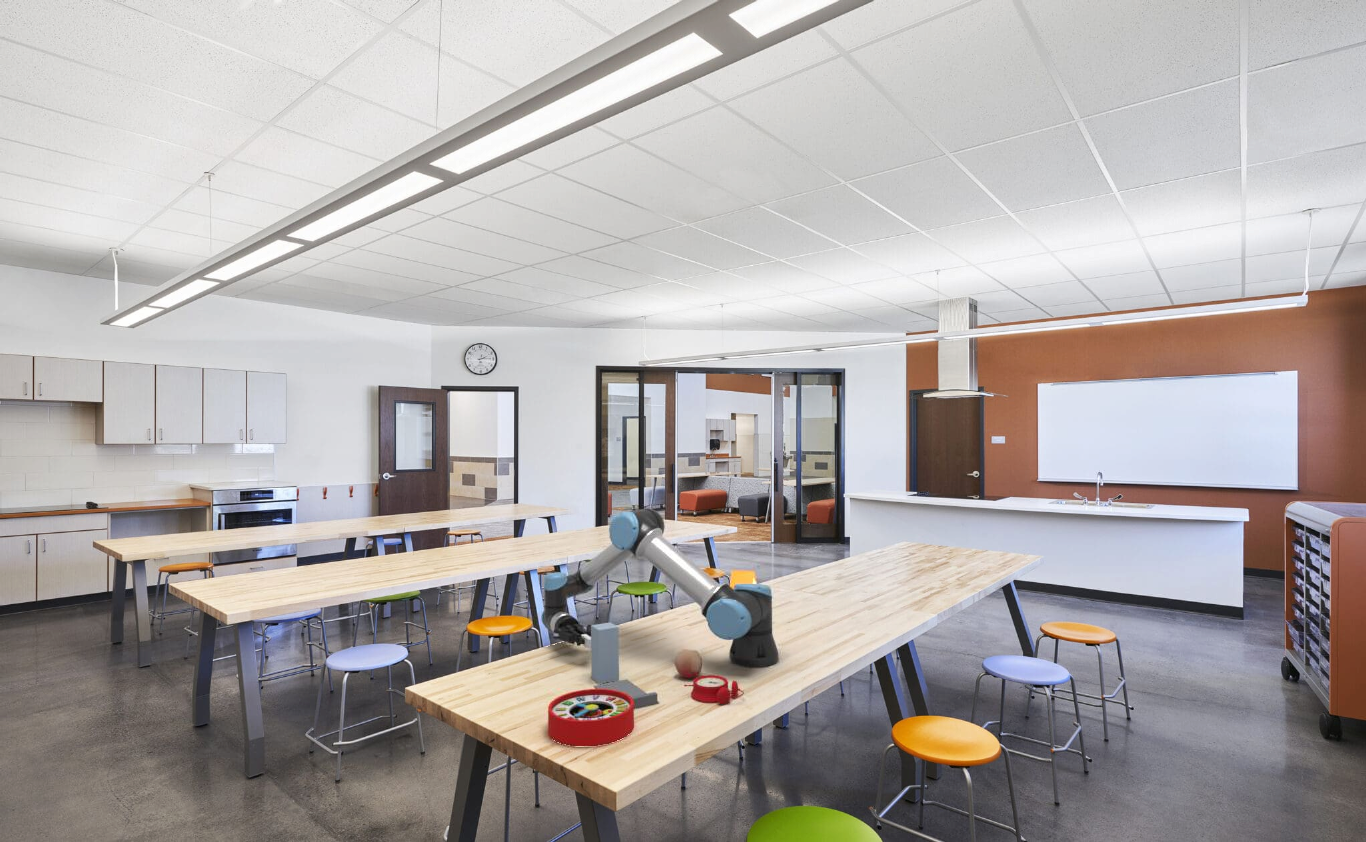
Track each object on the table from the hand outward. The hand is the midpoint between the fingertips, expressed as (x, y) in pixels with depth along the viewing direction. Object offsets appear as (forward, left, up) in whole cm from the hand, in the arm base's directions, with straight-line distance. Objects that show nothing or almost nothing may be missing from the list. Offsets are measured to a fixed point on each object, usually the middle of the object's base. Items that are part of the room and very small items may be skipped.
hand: (591, 643), depth 196 cm
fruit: (-28, -9, -8) cm, 31 cm away
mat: (-21, +11, -8) cm, 25 cm away
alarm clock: (-43, +1, -8) cm, 43 cm away
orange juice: (-18, -67, -8) cm, 70 cm away
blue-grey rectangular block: (-8, +4, -8) cm, 12 cm away
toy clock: (-26, +32, -8) cm, 42 cm away
